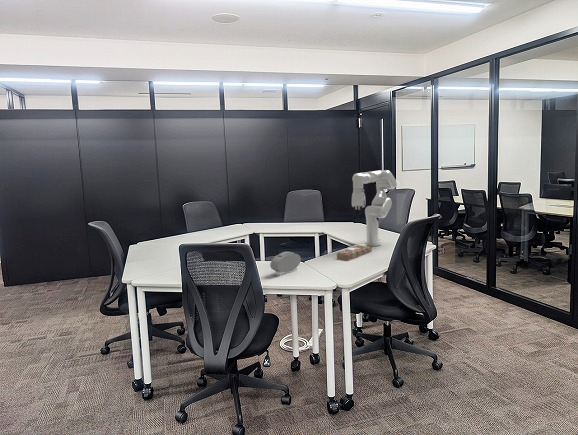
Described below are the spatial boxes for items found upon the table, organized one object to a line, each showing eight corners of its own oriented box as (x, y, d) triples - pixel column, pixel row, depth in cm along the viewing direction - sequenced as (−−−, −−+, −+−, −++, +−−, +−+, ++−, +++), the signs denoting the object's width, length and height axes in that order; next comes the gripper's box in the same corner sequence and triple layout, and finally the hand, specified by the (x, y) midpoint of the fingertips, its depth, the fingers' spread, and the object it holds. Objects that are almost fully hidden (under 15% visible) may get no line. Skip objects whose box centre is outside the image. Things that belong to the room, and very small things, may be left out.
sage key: (361, 248, 322) (360, 243, 321) (366, 248, 319) (366, 244, 318) (357, 249, 318) (357, 245, 318) (363, 249, 315) (363, 245, 314)
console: (359, 250, 326) (359, 244, 325) (371, 251, 319) (371, 245, 319) (337, 258, 301) (336, 252, 301) (349, 260, 295) (349, 254, 294)
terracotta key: (355, 251, 316) (355, 247, 315) (361, 252, 313) (361, 248, 312) (352, 252, 312) (352, 248, 312) (358, 253, 309) (358, 249, 308)
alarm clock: (293, 267, 281) (293, 248, 279) (301, 268, 277) (300, 249, 275) (270, 275, 263) (269, 255, 262) (277, 276, 259) (277, 256, 258)
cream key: (350, 252, 310) (349, 247, 309) (356, 252, 306) (355, 248, 306) (346, 253, 306) (346, 248, 305) (352, 254, 303) (352, 249, 302)
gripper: (369, 190, 321) (369, 214, 323) (352, 190, 330) (352, 213, 332) (364, 191, 315) (364, 216, 317) (347, 191, 324) (347, 214, 327)
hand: (358, 214), depth 325 cm, fingers closed
